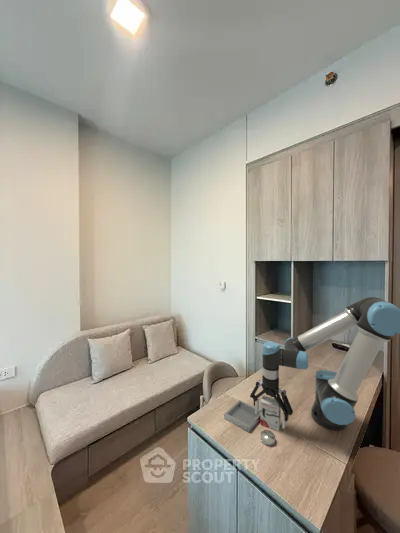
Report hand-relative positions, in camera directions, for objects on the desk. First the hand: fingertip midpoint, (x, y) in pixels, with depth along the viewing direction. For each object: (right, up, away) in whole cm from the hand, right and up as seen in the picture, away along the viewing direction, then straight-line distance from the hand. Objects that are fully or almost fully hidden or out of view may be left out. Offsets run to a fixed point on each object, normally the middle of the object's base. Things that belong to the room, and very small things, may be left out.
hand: (270, 419), depth 106 cm
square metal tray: (-12, -2, +5) cm, 13 cm away
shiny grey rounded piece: (-4, -3, -9) cm, 10 cm away
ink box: (0, -3, 0) cm, 3 cm away
